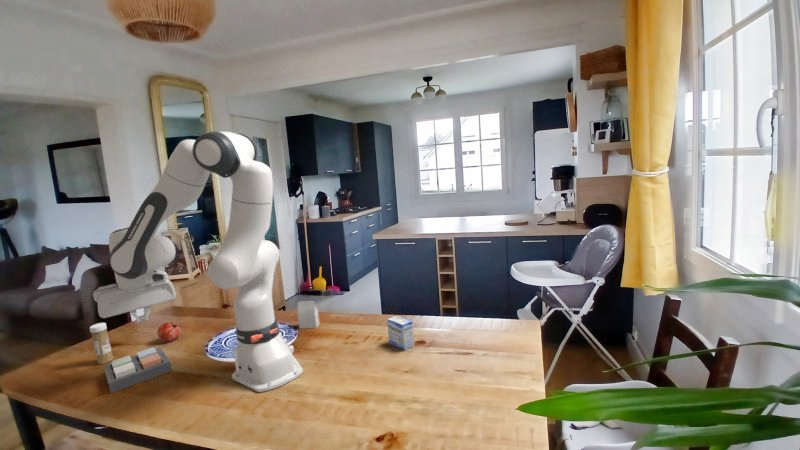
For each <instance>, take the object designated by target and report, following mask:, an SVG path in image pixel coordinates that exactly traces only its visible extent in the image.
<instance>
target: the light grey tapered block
mask: <svg viewBox="0 0 800 450" xmlns="http://www.w3.org/2000/svg"><path fill="white" fill-rule="evenodd" d="M296 313H297V321H298V329H301V330H302V329H317V328H318V327H319V326H320V315H319V308H318V307H317V303H316V301H315V300H310V301H309V300H307V301H297V312H296Z"/></svg>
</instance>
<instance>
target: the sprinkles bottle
mask: <svg viewBox="0 0 800 450" xmlns="http://www.w3.org/2000/svg"><path fill="white" fill-rule="evenodd" d="M107 329H108V328H107V323H106V322H98V323H95V324H93V325H91V326H89V332H90V333H91V338H92V343H93V347H94V352H95V355H96V358H97V364H99V365H104V364H108V363H109V362H111V361H113V360H114V355H113V351H112V346H111V342H110V338H109V334H108V330H107Z"/></svg>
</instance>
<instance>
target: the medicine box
mask: <svg viewBox="0 0 800 450" xmlns="http://www.w3.org/2000/svg"><path fill="white" fill-rule="evenodd" d="M386 320H387V331H388V342H389V344H390V345H392V346H393V347H396V348H398V349H401V350H403V351H407V350H409V349H411V348H412V347H414V346H415V336H414V335H415V333H414V322H413V321H412V320H410V319H407V318H404V317H401V316H398V315H394V316H392V317H390V318H388V319H386Z"/></svg>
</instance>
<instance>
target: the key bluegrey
mask: <svg viewBox="0 0 800 450" xmlns="http://www.w3.org/2000/svg"><path fill="white" fill-rule="evenodd" d="M155 349H156V348H155V347H151V348H148V349H147V348H146V349H144V350H141V351H139V352H136V355H137V357H138V360H139V362H141V361H140V359H143V358H146V357H149V356H152V355H155V354H157V351H156V350H155Z"/></svg>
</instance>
